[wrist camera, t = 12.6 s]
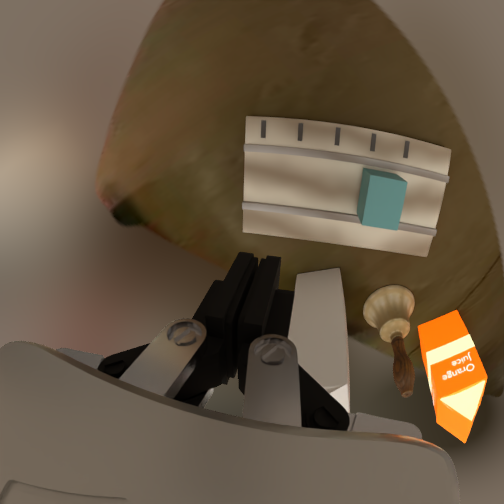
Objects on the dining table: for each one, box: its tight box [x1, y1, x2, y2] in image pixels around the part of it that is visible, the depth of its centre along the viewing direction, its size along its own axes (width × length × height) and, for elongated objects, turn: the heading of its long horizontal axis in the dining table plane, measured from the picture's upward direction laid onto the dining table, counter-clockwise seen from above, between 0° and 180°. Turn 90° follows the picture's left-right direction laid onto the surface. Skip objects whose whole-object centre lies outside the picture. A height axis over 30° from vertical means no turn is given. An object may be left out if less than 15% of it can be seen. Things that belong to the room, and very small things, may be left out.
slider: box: [357, 168, 408, 231], centre depth 26 cm, size 5×4×4 cm
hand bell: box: [363, 285, 415, 397], centre depth 30 cm, size 8×8×16 cm
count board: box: [242, 116, 451, 257], centre depth 29 cm, size 14×24×3 cm, turn 88°
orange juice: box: [418, 310, 487, 443], centre depth 28 cm, size 8×9×20 cm
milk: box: [288, 268, 350, 413], centre depth 28 cm, size 6×6×22 cm
